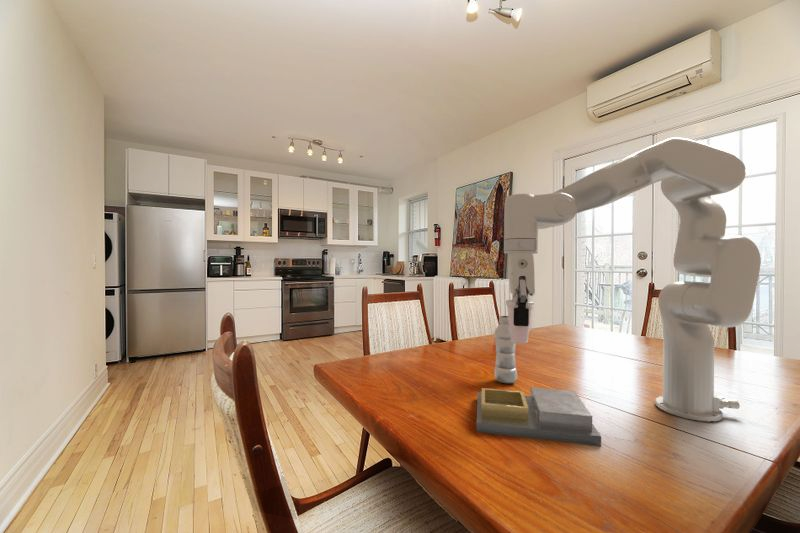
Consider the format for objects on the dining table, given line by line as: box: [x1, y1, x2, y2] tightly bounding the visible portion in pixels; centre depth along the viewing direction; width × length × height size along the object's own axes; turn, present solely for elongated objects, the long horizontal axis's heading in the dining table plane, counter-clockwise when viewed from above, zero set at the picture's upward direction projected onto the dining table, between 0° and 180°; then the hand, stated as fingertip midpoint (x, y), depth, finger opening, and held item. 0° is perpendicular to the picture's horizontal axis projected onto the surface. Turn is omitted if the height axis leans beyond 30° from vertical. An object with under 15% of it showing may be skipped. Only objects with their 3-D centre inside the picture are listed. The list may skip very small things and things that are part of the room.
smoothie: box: [505, 299, 535, 344], centre depth 80 cm, size 6×6×14 cm
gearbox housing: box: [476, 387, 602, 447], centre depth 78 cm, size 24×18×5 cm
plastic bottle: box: [493, 315, 518, 384], centre depth 102 cm, size 6×7×20 cm
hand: (519, 322), depth 80 cm, fingers closed on smoothie, 6 cm apart
